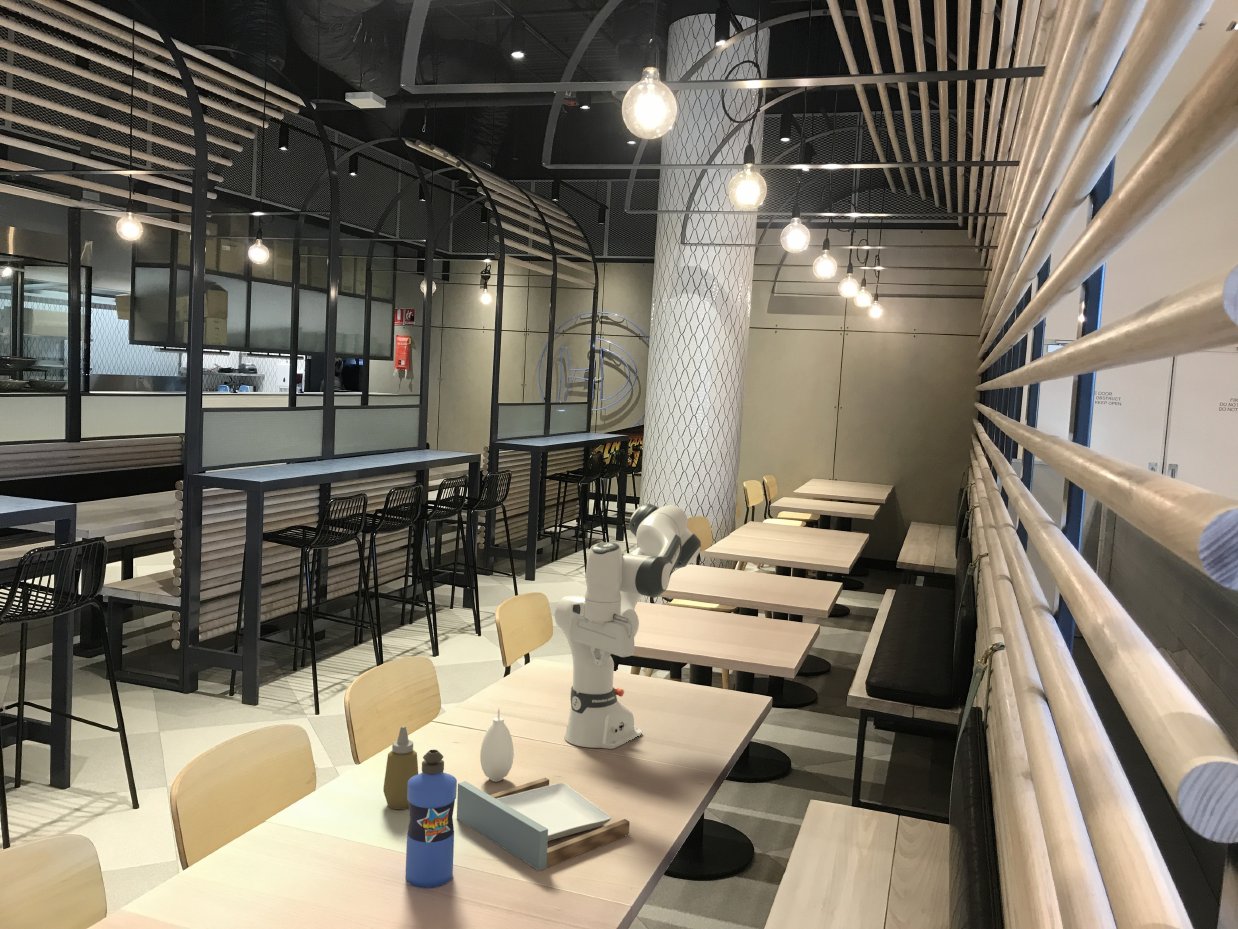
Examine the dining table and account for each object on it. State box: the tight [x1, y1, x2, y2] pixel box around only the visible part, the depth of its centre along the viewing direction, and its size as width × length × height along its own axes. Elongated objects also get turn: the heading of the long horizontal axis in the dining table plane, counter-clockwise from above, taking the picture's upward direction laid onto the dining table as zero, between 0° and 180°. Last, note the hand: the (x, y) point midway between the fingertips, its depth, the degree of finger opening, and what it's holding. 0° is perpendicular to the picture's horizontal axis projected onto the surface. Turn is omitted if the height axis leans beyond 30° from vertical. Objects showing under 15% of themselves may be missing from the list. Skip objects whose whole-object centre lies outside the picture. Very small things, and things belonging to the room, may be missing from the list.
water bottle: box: [405, 749, 458, 889], centre depth 184 cm, size 9×9×25 cm
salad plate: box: [497, 782, 612, 842], centre depth 211 cm, size 21×21×3 cm
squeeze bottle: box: [383, 725, 419, 810], centre depth 215 cm, size 8×8×18 cm
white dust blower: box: [479, 708, 515, 783], centre depth 231 cm, size 8×8×18 cm
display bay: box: [456, 777, 630, 872], centre depth 208 cm, size 25×29×8 cm
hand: (600, 666), depth 232 cm, fingers closed
